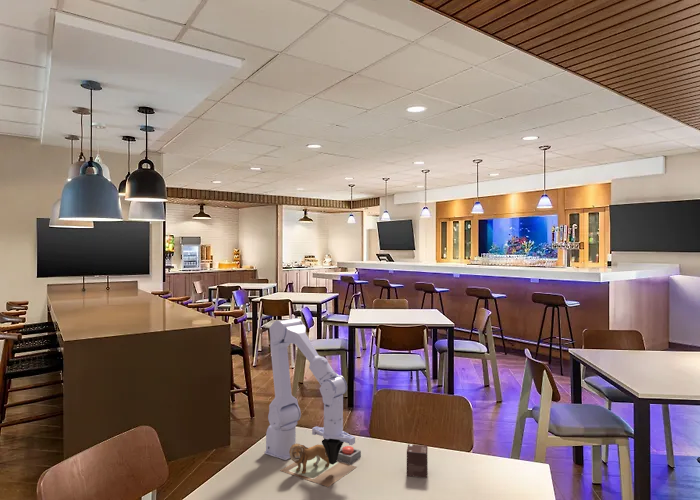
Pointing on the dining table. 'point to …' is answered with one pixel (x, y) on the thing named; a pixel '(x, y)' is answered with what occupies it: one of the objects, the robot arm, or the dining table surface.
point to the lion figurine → (307, 455)
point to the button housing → (349, 456)
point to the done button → (348, 450)
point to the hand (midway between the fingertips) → (332, 462)
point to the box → (417, 461)
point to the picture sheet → (320, 471)
